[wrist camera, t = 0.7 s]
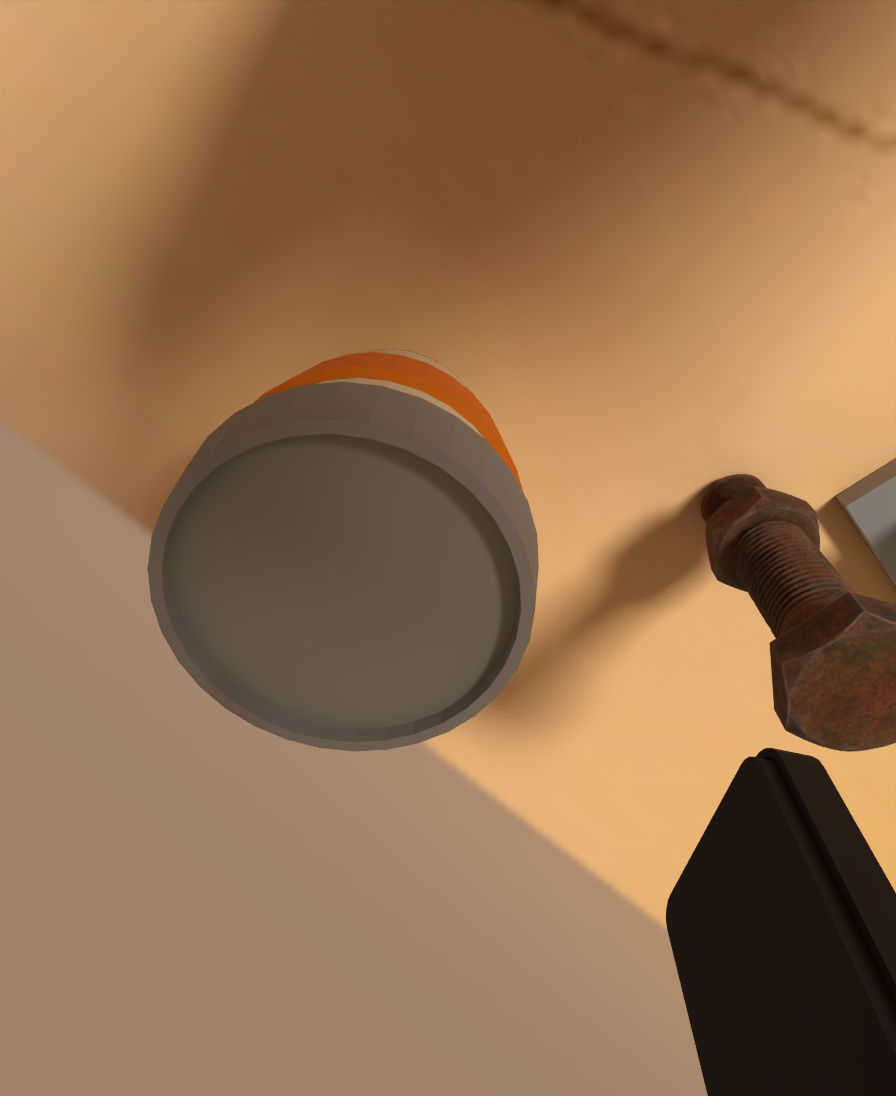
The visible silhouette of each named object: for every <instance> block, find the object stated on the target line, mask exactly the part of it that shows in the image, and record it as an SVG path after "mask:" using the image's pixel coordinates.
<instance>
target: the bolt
mask: <svg viewBox="0 0 896 1096" xmlns="http://www.w3.org/2000/svg"><path fill="white" fill-rule="evenodd" d="M701 512H702V516H703V518H704V520H705V522H706V541H707V549H708V556H709V561H710V566H711V569H712V571H713V573H714V575H715V577H716V579H717V580H718V581H720V582H722V583H724V584H727V585H729V586H731V587H734V588H737V589H740V590H743V591H746V592H748V593H749V595H750V596H751V598H752V600H753V601H754V603H755V605H756V606H757V608H758V610H759V611H760V613H761V615H762V616H763V618H764V620H765V621H766V623H767V624H768V626H769V627H770V629H771V631H772V633H773V634H774V636H775V638H776V639H775V640H773V641H772V642H770V655H771V669H772V684H773V698H774V710H775V712H776V714H777V715H778V717H779V719H780V721H781V723H782V725H783V727H784V728H785V730H786V731H788V732H790V733H792V734H794V735H796V736H798V737H800V738H802V739H804V740H806V741H809V742H811V743H814V744H816V745H819V746H822V747H826V748H830V749H834V750H839V751H850V752H851V751H863V750H869V749H874V748H879V747H884V746H887V745H890V744H893V743H896V605H894V604H891V603H887V602H884V601H880V600H876V599H873V598H869V597H865V596H862V595H858V594H856V593H855V592H854V591H853V590H852V588H851V587H850V586H849V585H848V584H847V582H846V581H844V579H843V578H842V577H841V576H840V575H839V573H838V572H837V571H836V570H835V568H834V567H833V566H832V565H831V564H830V563H829V562H828V560H827V559H826V558H825V556H824V555H823V554H822V553H821V551H820V536H819V526H818V521H817V515H816V511H815V510H814V509H813V508H812V507H811V506H810V505H809V504H808V503H807V502H806V501H804V500H802V499H799V498H797V497H794V496H792V495H789V494H786V493H783V492H780V491H776V490H772V489H768V488H766V487H765V486H764V484H763V483H762V482H761V481H760V480H759V479H758V478H756V477H754V476H751V475H747V474H737V475H731V476H727V477H725V478H723V479H721V480H719V481H718V482H716V483H715V484H714V485H713V486H712V487H711V488H710V489H709V490H708V491H707V493H706V494H705V496H704V498H703V500H702V503H701Z"/></svg>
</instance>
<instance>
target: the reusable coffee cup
mask: <svg viewBox="0 0 896 1096" xmlns="http://www.w3.org/2000/svg"><path fill="white" fill-rule="evenodd" d="M538 567H539V566H538V545H537V532H536V529H535V525H534V522H533V518H532V514H531V511H530V507H529V504H528V501H527V499H526V497H525V495H524V493H523V490H522V487H521V483H520V480H519V476H518V472H517V469H516V467H515V465H514V463H513V461H512V459H511V456H510V454H509V452H508V450H507V448H506V446H505V444H504V442H503V439H502V437H501V435H500V433H499V431H498V429H497V428H496V426H495V424H494V422H493V420H492V418H491V416H490V414H489V413H488V412H487V410H486V409H485V408H484V407H483V405H482V404H481V403H480V402H479V400H478V399H477V398H476V397H475V396H474V394H473V393H472V392H470V391H469V390H468V389H467V388H466V387H465V386H464V384H463V383H462V382H461V381H460V379H459V378H458V377H457V376H455V375H454V374H453V373H452V372H451V371H449V370H448V369H447V368H446V367H444V366H443V365H441V364H439V363H437V362H436V361H434V360H432V359H430V358H428V357H426V356H423V355H420V354H416V353H413V352H410V351H403V350H394V349H386V350H375V351H369V352H366V353H359V354H348V355H345V356H341V357H338V358H335V359H331V360H328V361H325V362H322V363H320V364H318V365H316V366H314V367H312V368H311V369H309V370H307V371H305V372H303V373H301V374H299V375H297V376H295V377H293V378H292V379H290V380H288V381H286V382H284V383H283V384H281V385H279V386H277V387H275V388H274V389H272V390H270V391H268V392H266V393H265V394H263V395H262V396H261V397H260V398H259V399H258V400H256V401H255V402H254V403H252V404H251V405H249V406H247V407H245V408H243V409H242V410H240V411H238V412H236V413H234V414H233V415H232V416H231V417H230V418H228V419H227V420H226V421H225V422H224V423H223V424H222V425H221V426H219V427H218V428H217V429H216V430H215V431H214V432H213V433H212V434H211V435H209V436H208V437H207V439H206V440H205V441H204V443H203V444H202V446H201V447H200V449H199V450H198V451H197V453H196V454H195V456H194V457H193V459H192V460H191V462H190V463H189V464H188V466H187V468H186V469H185V471H184V473H183V474H182V476H181V478H180V479H179V481H178V482H177V484H176V486H175V487H174V489H173V491H172V492H171V494H170V496H169V497H168V499H167V501H166V502H165V504H164V506H163V509H162V511H161V514H160V517H159V519H158V522H157V524H156V527H155V530H154V532H153V535H152V540H151V548H150V556H149V564H148V574H149V583H150V593H151V601H152V604H153V607H154V610H155V613H156V616H157V619H158V622H159V625H160V628H161V631H162V633H163V635H164V637H165V639H166V640H167V642H168V644H169V646H170V647H171V649H172V651H173V652H174V654H175V656H176V658H177V659H178V661H179V662H180V663H181V665H182V666H183V667H184V668H185V669H186V671H187V672H188V673H189V674H190V675H191V676H192V678H193V679H194V680H195V681H196V683H197V684H198V685H199V686H200V687H201V688H202V689H203V690H205V691H206V692H207V693H208V694H209V695H211V696H212V697H213V698H214V699H215V700H216V701H218V702H219V703H220V704H221V705H222V706H224V707H225V708H226V709H228V710H229V711H231V712H233V713H234V714H236V715H237V716H239V717H241V718H242V719H244V720H246V721H247V722H249V723H251V724H252V725H254V726H256V727H259V728H261V729H263V730H265V731H268V732H270V733H273V734H275V735H278V736H280V737H283V738H285V739H287V740H291V741H295V742H299V743H303V744H307V745H311V746H315V747H319V748H327V749H338V750H346V751H368V750H387V749H392V748H397V747H402V746H407V745H411V744H417V743H420V742H423V741H425V740H428V739H431V738H433V737H436V736H438V735H441V734H444V733H446V732H449V731H450V730H452V729H454V728H455V727H457V726H459V725H460V724H462V723H464V722H465V721H467V720H469V719H470V718H472V717H474V716H475V715H476V714H478V713H479V712H480V711H481V710H482V709H483V708H484V707H485V706H486V705H487V704H489V703H490V702H491V701H492V700H493V699H494V698H495V697H496V696H497V695H499V693H500V692H501V690H502V689H503V688H504V686H505V685H506V684H507V682H508V681H509V680H510V678H511V677H512V675H513V674H514V673H515V671H516V670H517V668H518V666H519V663H520V661H521V659H522V656H523V654H524V652H525V649H526V647H527V645H528V642H529V639H530V634H531V628H532V622H533V617H534V611H535V602H536V590H537V578H538Z"/></svg>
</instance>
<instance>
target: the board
mask: <svg viewBox="0 0 896 1096" xmlns="http://www.w3.org/2000/svg"><path fill="white" fill-rule="evenodd" d="M835 497H836V498H837V500H838V501H839V503H840V504H841V506H842V507H843V509H844V510H845V512H846V513H847V515H848V516H849V518H850V519H851V521H852V522H853V524H854V525H855V527H856V528H857V530H858V531H859V533H860V534H861V536H862V537H863V539H864V540H865V542H866V543H867V545H868V546H869V548H870V549H871V551H872V552H873V554H874V555H875V557H876V558H877V560H878V561H879V563H880V564H881V566H882V567H883V569H884V570H885V572H886V573H887V575H888V576H889V578H890V579H891V581H892V582H893V584H894V585H895V587H896V459H895V460H893V461H891V462H890V463H888V464H886V465H885V466H883V467H882V468H880V469H878V470H877V471H875V472H874V473H872V474H870V475H869V476H867V477H865V478H864V479H862V480H861V481H859V482H857V483H856V484H854V485H853V486H851V487H849V488H848V489H846V490H844V491H843V492H841V493H840V494H838V495H836V496H835Z"/></svg>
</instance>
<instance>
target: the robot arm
mask: <svg viewBox="0 0 896 1096" xmlns="http://www.w3.org/2000/svg"><path fill="white" fill-rule="evenodd" d="M666 924H667V930H668V934H669V938H670V942H671V946H672V950H673V954H674V959H675V962H676V967H677V971H678V975H679V979H680V983H681V987H682V992H683V996H684V1000H685V1004H686V1008H687V1012H688V1016H689V1020H690V1024H691V1028H692V1032H693V1037H694V1041H695V1045H696V1049H697V1053H698V1057H699V1061H700V1065H701V1069H702V1074H703V1078H704V1082H705V1086H706V1090H707V1094H708V1096H896V893H895V891H894V889H893V887H892V886H891V884H890V882H889V880H888V879H887V877H886V875H885V873H884V872H883V870H882V868H881V866H880V865H879V863H878V861H877V859H876V858H875V856H874V854H873V852H872V851H871V849H870V847H869V845H868V843H867V842H866V840H865V838H864V836H863V835H862V833H861V831H860V829H859V828H858V826H857V824H856V822H855V821H854V819H853V817H852V815H851V814H850V812H849V810H848V808H847V807H846V805H845V803H844V801H843V800H842V798H841V796H840V794H839V792H838V791H837V789H836V787H835V785H834V784H833V782H832V780H831V778H830V777H829V775H828V773H827V771H826V770H825V768H824V766H823V765H822V764H821V762H820V761H819V760H818V759H816V758H814V757H813V756H808V755H803V754H798V753H793V752H788V751H783V750H778V749H773V748H765V749H763V750H762V751H760V752H759V753H758V755H757V756H756V757H748V758H746V759H745V760H744V761H743V763H742V764H741V766H740V768H739V769H738V771H737V773H736V775H735V777H734V779H733V780H732V782H731V784H730V786H729V788H728V790H727V792H726V793H725V795H724V797H723V799H722V801H721V803H720V804H719V806H718V808H717V810H716V812H715V814H714V815H713V817H712V819H711V821H710V823H709V825H708V826H707V828H706V830H705V832H704V834H703V836H702V837H701V839H700V841H699V843H698V845H697V847H696V848H695V850H694V852H693V854H692V856H691V858H690V859H689V861H688V863H687V865H686V867H685V869H684V871H683V872H682V874H681V876H680V878H679V880H678V882H677V883H676V885H675V887H674V889H673V891H672V893H671V894H670V897H669V899H668V903H667V909H666Z"/></svg>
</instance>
